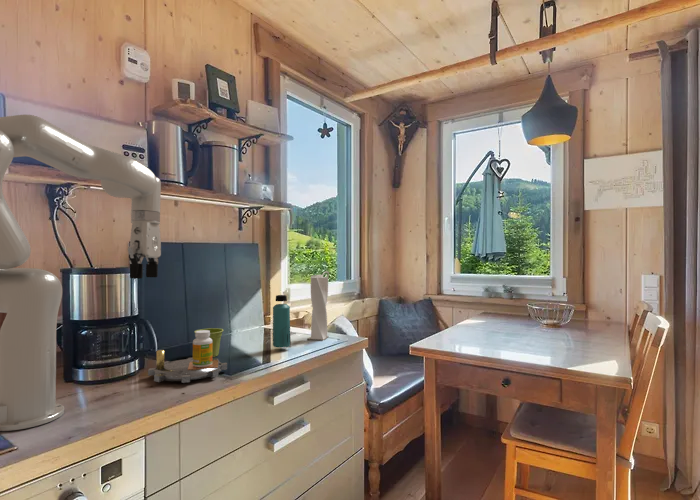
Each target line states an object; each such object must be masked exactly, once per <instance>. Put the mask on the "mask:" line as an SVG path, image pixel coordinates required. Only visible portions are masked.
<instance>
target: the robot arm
mask: <svg viewBox="0 0 700 500" xmlns="http://www.w3.org/2000/svg"><path fill="white" fill-rule="evenodd" d="M20 157H22V158H23V157H29V158H31V159H34V160H36V161H38V162H41V163H42V164H45V165H47V166H50V167H52V168H54V169H56V170H58V171H61V172H63V173H65V174H67V175H68V176H73V177H76V178H81V179H86V180H95V181H97V180H99V181H100V185H101V188H102V190H103V191H104V192H105V193H106V194H107V195H109V196H111V197H114V198H118V199H120V198H122V199H123V198H125V199H126V198H127V199H131V202H130V203H131V206H130V207H131V212H130V223H131V229H130V240H129V246H128V248H127V252H128V258H129V261H128V264H129V279H143V275H144V274H143V273H144V270H143V269H144V265H143V263H142V262H143V260H144V258H145V259H146V261H147V263H146V264H145V277H146V278H158V275H159V273H158V272H159V271H158V270H159V258H160V257H161V256H162V243H161V240H162V239H161V230H160V229H161V228H160V225H161V202H162V201H161V199H162V198H161V192H162V191H161V190H162V189H161V188H162V182H161V179H160V178H159V177H157V176H156V175H155V173H154V172H153V171H152V170H151V169H150V168H148V167H147V166H146V165H144V164H143V163H141V162H139V161H137V160H136V159H133V158H131V157H130V156H126V155H124V154H121V153H117V152H114V151H112V150H108V149H105V148H103V147H98V146H95V145H91V144H89V143H87V142H85V141H83V140H82V139H79V138H78V137H76V136H75V135H72V134H70V133H68V132H67V131H65V130H64V129H61V128H60V127H58V126H56V125H55V124H53V123H52V122H50V121H47V120H46V119H44V118H41V117H40V116H37V115H33V114H18V115H9V116H0V313H2V314H3V313H4V314H6V316H5V318H4V320H3V322H2V324H1V326H0V432H10V431H19V430H25V429H30V428H34V427H39V426H42V425H45V424H47V423H50V422H53V421H54V420H57V419H58V418H60V417H62V415H63V414H65V406H64V405H63V404H61V403H57V402H56V397H57V396H56V394H57V393H56V391H57V390H56V387H57V386H56V385H57V384H56V383H57V324H58V322H57V321H58V315H59V312H60V311H59V310H60V307H61V306H60V305H61V303H62V298H63V286H62V282H61V280H60V279H59V278H58V276H56V275H55V274H54V273H52V272H50V271H48V270H45V269H42V268H37V267H35V268H33V267H30V268H29V267H21V266H22V265H24V264H25V263H26V262H27V261H28V260H29V259H30V256H31V252H32V248H31V244H30V242H29V240H28V237H27V236H26V234H25V232H24V230H23V229H22V227H21V226H20V224H19V222H18V220H17V218H16V216H15V214H14V213H13V212H12V210H11V208H10V207H9V204H8V203H7V200H6V198H5V195H4V192H3V183H4V182H3V180H4V177H5V175H6V172H7V171H8V169H9V167H10V165H11V163H12V161H13V160H14V158H20Z"/></svg>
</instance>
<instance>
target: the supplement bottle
mask: <svg viewBox="0 0 700 500" xmlns="http://www.w3.org/2000/svg"><path fill="white" fill-rule="evenodd" d="M199 330H200V329H199ZM195 331H196V330H195ZM195 331H194V332H195ZM209 336H210V331H208V330H200V331H196V332H195V333H194V337H195V338H194V339H193V340H192V358H193V366H194V367H207V366H210V365H212V358H213V357H212V339H211V338H209Z"/></svg>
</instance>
